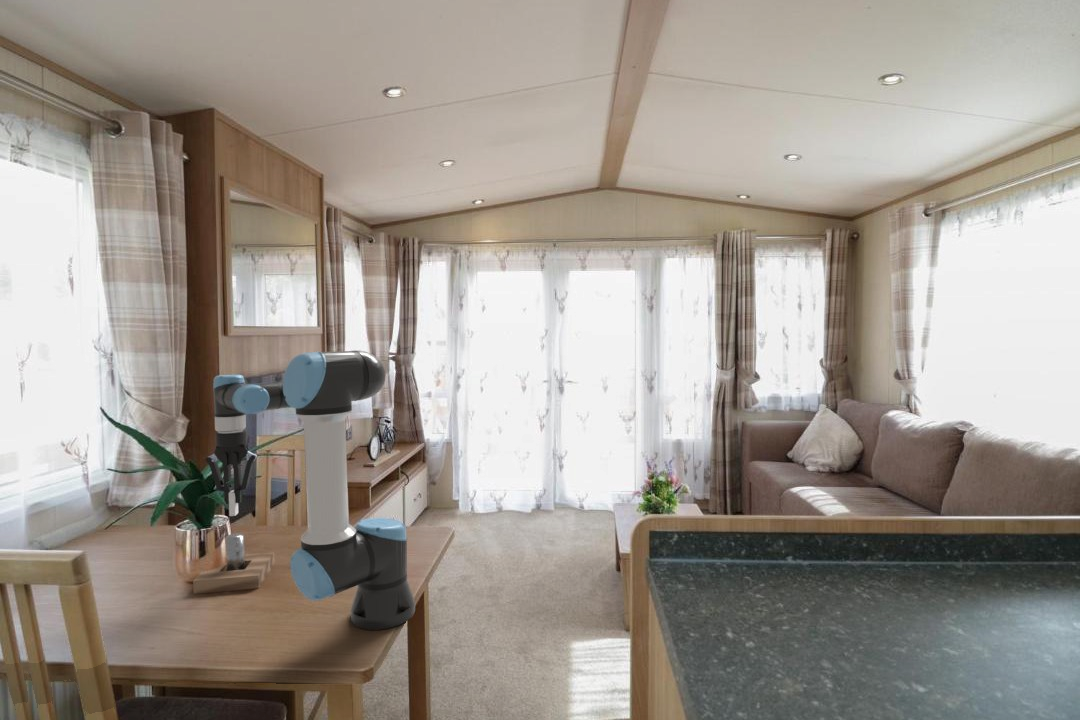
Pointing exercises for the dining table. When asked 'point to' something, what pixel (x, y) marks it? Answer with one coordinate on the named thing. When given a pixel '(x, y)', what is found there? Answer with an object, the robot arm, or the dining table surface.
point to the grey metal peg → (235, 552)
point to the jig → (235, 575)
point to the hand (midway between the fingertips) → (233, 514)
